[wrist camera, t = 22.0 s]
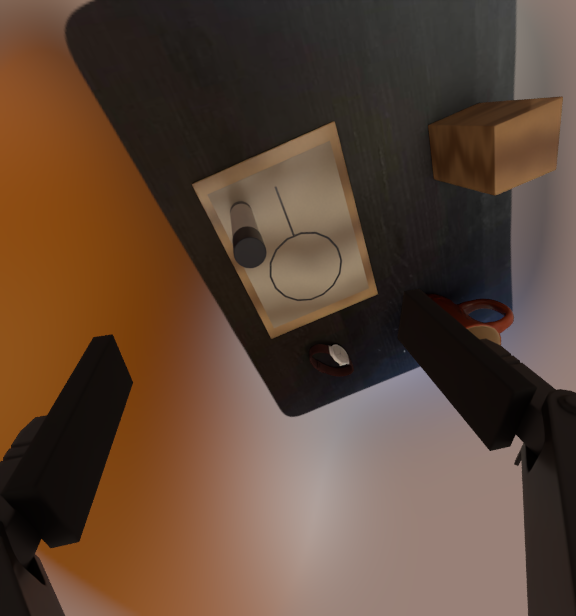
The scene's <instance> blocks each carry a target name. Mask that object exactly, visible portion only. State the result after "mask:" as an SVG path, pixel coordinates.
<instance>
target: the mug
mask: <svg viewBox="0 0 576 616" xmlns="http://www.w3.org/2000/svg"><path fill="white" fill-rule="evenodd" d="M426 295H427V296H428V297H430V298H431V299H432V300H433V301H434V302H436V303H437V304H438V305H439V306H440V307H442V308H443V309H444V310H445V311H446V312H448V313H449V314H450V315H451V316H452V317H454V318H455V319H456V320H457V321H458V322H459V323H461V324H462V325H463V326H464V327H465V328H467V329H468V330H469V331H470V332H471V333H473V334H474V335H475V336H476V337H477V338H479V339H485V338H486V339H488V340H490V341H492V342H495V343H497V344H499V345H500V346H501V336H500V333H501V332H503V331H504V330H505V329H507V328H508V327H509V326H510V325H511V324H512V323H513V321H514V315H513V312H512V311H511V309H510V308H509V307H508V306H506V305H505V304H503V303H501V302H498V301H495V300H491V299H476V300H471V301H466V302H463V303H460V304H457V305H456V304H454V303H453V302H452V301H451V300H449V299H447V298H446V297H443V296H441V295H438V294H426ZM481 308H488V309H492V310H495V311H497V312H499V313H501V314H503V315H504V317H503V318H502V319H500V320H498V321H495V322H487V323H483V322H480V321H477V320H475V319H473V318H471V317H470V316H469V315H468V314H469V313H471V312H472V311H474V310H477V309H481Z"/></svg>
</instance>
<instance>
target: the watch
mask: <svg viewBox="0 0 576 616" xmlns="http://www.w3.org/2000/svg"><path fill="white" fill-rule="evenodd" d="M320 352H322V353H327V354H330V355H331V356H332V357H333V359H334V360H335V361H336V362H337V363H339V364H340V366H342V365H345V364H349V365H348V366H346V367H341V368H334V367H330V366H327V365H325V364H322V363H321V362H319V361H318V360H317V361H316V360H315V359H314V358H313V357H312V355H313V354H315V353H320ZM309 355H310V362H311V364H312V365H313V366H314V367H315V368H316V369H317V370H318V371H320V372H322V373H324V372H325V373H327V374H329V375H333V376H346V375H349V374H351V373H352V372H353V371H354V368H353V365H352V361H351V359H350V358H349V357H348V355H347V353H346V352H345V350H344V349H343V348H342V347H340V346H339V345H333V346H331V347H330V346H327V345H322V344H318V345H314V346H312V347H311V348H310V351H309Z"/></svg>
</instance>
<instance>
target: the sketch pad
mask: <svg viewBox="0 0 576 616" xmlns="http://www.w3.org/2000/svg"><path fill="white" fill-rule="evenodd" d="M192 186H193V188H194V190H195V192H196V194H197V196H198V198H199V200H200V201H201V203H202V205H203V207H204V209H205V211H206V213H207V215H208V217H209V219H210V221H211V223H212V225H213V227H214V229H215V231H216V232H217V234H218V236H219V238H220V240H221V242H222V244H223V246H224V248H225V250H226V252H227V254H228V256H229V258H230V260H231V261H232V263H233V265H234V267H235V269H236V271H237V273H238V275H239V277H240V279H241V281H242V283H243V285H244V287H245V289H246V291H247V292H248V294H249V296H250V298H251V300H252V302H253V304H254V306H255V308H256V310H257V312H258V314H259V316H260V318H261V320H262V321H263V323H264V325H265V327H266V329H267V331H268V333H269V335H270V337H271V339H272V338H274V337H277V336H279V335H281V334H284V333H286V332H289V331H291V330H293V329H296V328H298V327H300V326H303V325H305V324H308V323H310V322H312V321H315V320H317V319H319V318H322V317H324V316H327V315H329V314H331V313H334V312H336V311H338V310H341V309H343V308H346V307H348V306H350V305H353V304H355V303H357V302H360V301H362V300H365V299H367V298H369V297H372V296H374V295H376V294H378V293H377V289H376V285H375V281H374V277H373V273H372V269H371V265H370V261H369V257H368V253H367V249H366V245H365V241H364V237H363V233H362V229H361V225H360V221H359V217H358V213H357V209H356V205H355V201H354V197H353V193H352V189H351V185H350V181H349V177H348V173H347V169H346V165H345V161H344V157H343V153H342V149H341V145H340V141H339V137H338V133H337V129H336V125H335V121H332V122H330V123H328V124H326V125H323V126H321V127H319V128H317V129H314V130H312V131H310V132H308V133H305V134H303V135H301V136H299V137H296V138H294V139H292V140H290V141H287V142H285V143H283V144H280V145H278V146H276V147H274V148H271V149H269V150H267V151H265V152H262V153H260V154H258V155H256V156H253V157H251V158H249V159H247V160H244V161H242V162H240V163H238V164H235V165H233V166H231V167H228V168H226V169H224V170H222V171H219V172H217V173H215V174H213V175H210V176H208V177H206V178H204V179H201V180H199V181H197V182H195V183H192ZM238 201H243V202H246V203H247V204H249V206H250V207H251V209H252V212H253V215H254V218H255V221H256V223H257V226H258V229H259V232H260V234H261V236H262V239H263V241H264V244H265V247H266V252H267V253H266V258H265V260H264V262H263V263H262V264H261V265H259V266H258V267H255V268H245V267H242V266H240V265H239V264H238V263H237V262H236V260H235V258H234V254H233V243H232V239H233V237H232V227H231V217H230V209H231V206H232V205H233V204H234V203H236V202H238Z"/></svg>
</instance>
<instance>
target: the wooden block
mask: <svg viewBox="0 0 576 616" xmlns="http://www.w3.org/2000/svg"><path fill="white" fill-rule="evenodd" d="M562 102H563V97H551V98H538V99H524V100H511V101H498V102H485V103H478V104H476V105H473V106H471V107H469V108H466V109H464V110H462V111H460V112H457V113H455V114H453V115H450V116H448V117H446V118H444V119H441V120H439V121H437V122H434V123H432V124H430V125H428V129H429V139H430V148H431V157H432V166H433V175H434V179H435V180H439V181H442V182H446V183H450V184H454V185H457V186H461V187H465V188H469V189H472V190H476V191H480V192H484V193H488V194H491V195H498V194H500V193H502V192H505V191H507V190H509V189H512V188H513V187H516V186H519V185H521V184H523V183H526V182H528V181H530V180H533V179H535V178H537V177H540V176H542V175H544V174H547V173H549V172H552V171H554V170H556V166H557V155H558V144H559V134H560V123H561V113H562Z"/></svg>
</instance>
